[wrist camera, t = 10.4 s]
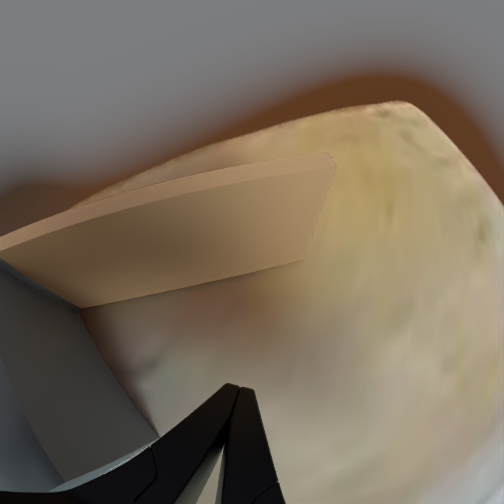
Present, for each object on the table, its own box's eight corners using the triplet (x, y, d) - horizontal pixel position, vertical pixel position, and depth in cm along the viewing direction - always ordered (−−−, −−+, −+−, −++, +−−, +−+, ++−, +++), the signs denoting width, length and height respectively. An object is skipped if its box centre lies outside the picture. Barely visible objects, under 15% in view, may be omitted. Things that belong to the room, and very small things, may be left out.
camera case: (159, 437, 14) (54, 486, 4) (63, 493, 11) (-34, 523, 1) (73, 301, 17) (-31, 231, 8) (-2, 373, 14) (-97, 344, 5)
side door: (296, 241, 19) (323, 141, 11) (303, 263, 18) (338, 169, 10) (70, 292, 17) (-13, 233, 9) (71, 313, 17) (-19, 262, 9)
